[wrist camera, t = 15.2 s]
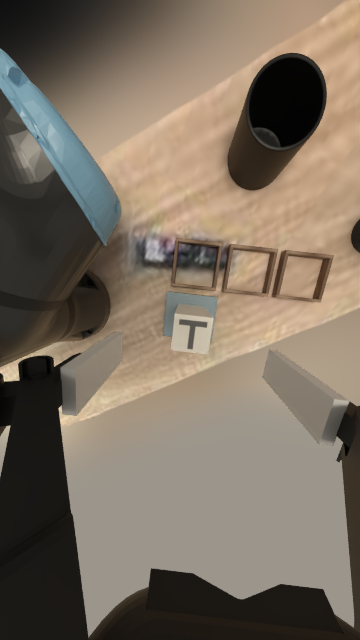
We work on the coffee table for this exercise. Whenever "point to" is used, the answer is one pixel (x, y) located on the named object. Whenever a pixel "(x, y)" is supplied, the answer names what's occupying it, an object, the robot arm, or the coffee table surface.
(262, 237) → the coffee table surface
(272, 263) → the wooden window frame
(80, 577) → the robot arm
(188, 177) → the coffee table surface
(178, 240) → the wooden picture frame
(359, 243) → the travel mug
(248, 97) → the mug
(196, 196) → the coffee table surface
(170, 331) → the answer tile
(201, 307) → the letter block
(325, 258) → the wooden frame right
